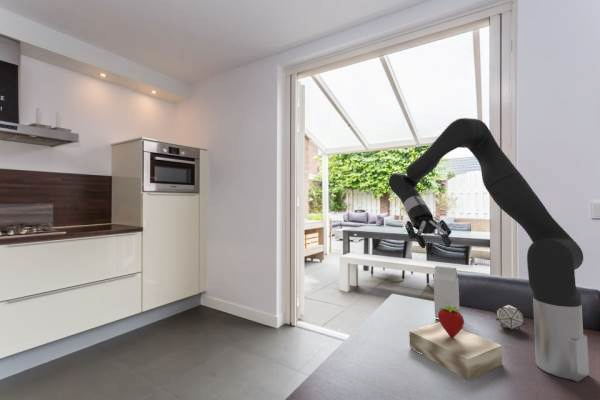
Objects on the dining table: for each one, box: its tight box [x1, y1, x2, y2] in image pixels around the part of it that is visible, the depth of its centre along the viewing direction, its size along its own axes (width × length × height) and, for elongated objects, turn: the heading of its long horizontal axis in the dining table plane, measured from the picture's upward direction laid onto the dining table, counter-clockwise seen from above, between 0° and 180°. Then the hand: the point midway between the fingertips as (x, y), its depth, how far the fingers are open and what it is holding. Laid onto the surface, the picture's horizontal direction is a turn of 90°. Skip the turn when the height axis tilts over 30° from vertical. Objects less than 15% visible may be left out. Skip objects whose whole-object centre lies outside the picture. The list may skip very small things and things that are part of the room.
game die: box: [494, 301, 528, 333], centre depth 96 cm, size 9×8×10 cm
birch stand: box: [408, 321, 503, 381], centre depth 80 cm, size 18×14×5 cm
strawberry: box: [438, 302, 465, 338], centre depth 80 cm, size 6×8×10 cm
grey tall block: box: [433, 265, 461, 318], centre depth 106 cm, size 7×7×19 cm
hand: (436, 246), depth 94 cm, fingers open, 8 cm apart
